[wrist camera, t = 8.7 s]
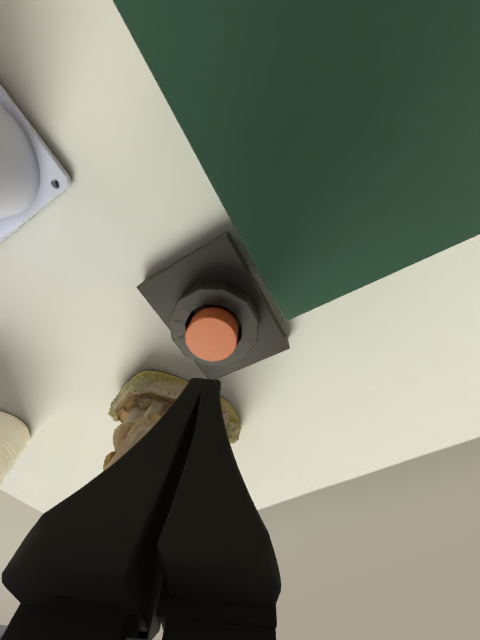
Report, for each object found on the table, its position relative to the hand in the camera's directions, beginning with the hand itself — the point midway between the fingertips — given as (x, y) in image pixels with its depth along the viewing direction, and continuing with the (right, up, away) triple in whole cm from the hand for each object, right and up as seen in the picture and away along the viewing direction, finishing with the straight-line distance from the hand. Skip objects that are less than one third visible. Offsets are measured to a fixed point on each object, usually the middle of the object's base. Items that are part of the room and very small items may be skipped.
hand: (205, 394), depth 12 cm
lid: (+5, +12, -2) cm, 13 cm away
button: (0, +3, +7) cm, 8 cm away
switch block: (0, +4, +9) cm, 10 cm away
